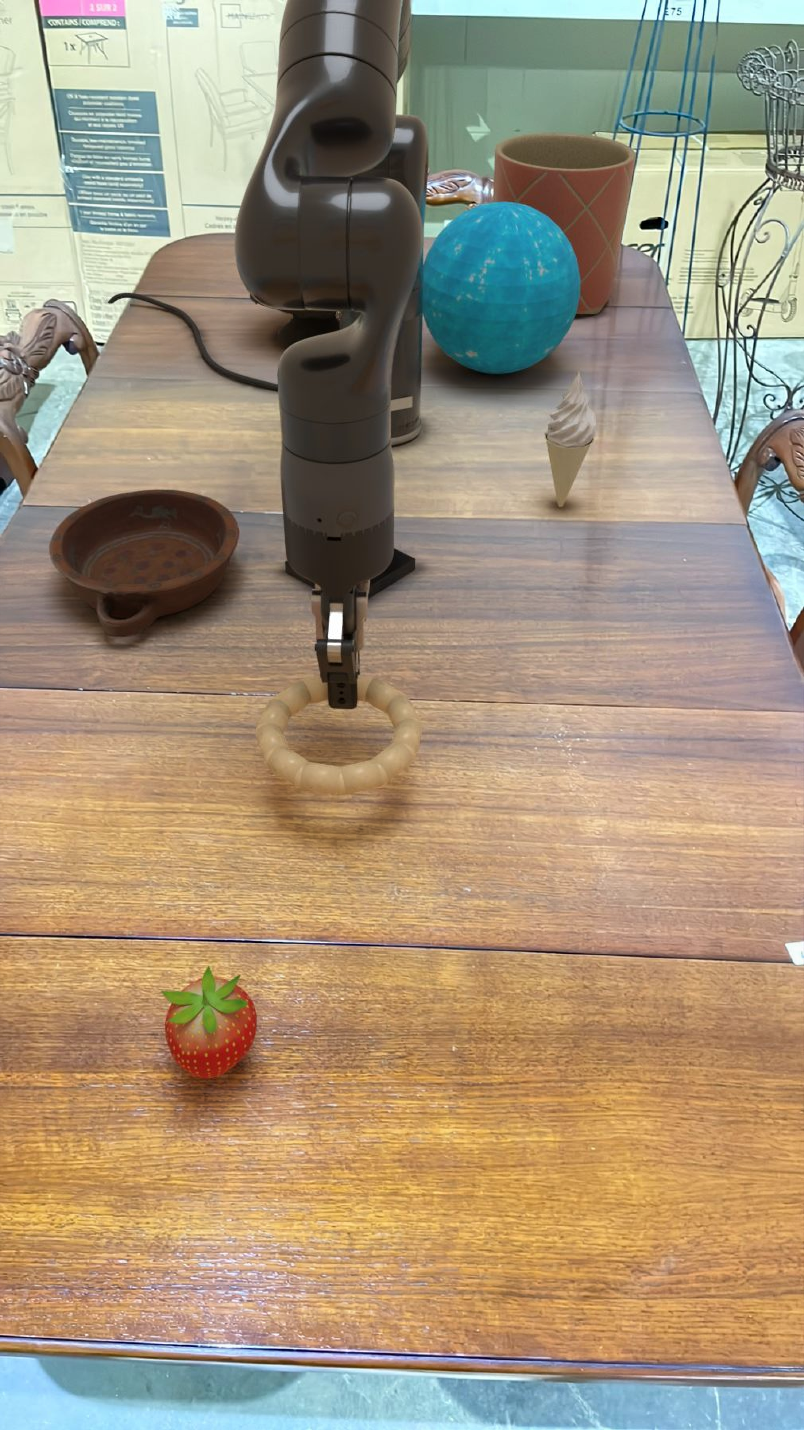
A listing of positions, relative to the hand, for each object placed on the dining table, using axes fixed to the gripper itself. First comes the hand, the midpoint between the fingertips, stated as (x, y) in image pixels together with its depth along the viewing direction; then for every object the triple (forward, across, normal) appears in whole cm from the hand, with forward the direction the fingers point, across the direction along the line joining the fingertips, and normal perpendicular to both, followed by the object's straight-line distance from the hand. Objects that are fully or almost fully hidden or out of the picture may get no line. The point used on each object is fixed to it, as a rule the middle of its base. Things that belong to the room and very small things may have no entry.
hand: (344, 693), depth 84 cm
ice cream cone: (+6, -38, +20) cm, 43 cm away
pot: (+6, -81, -10) cm, 82 cm away
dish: (+5, -22, -20) cm, 30 cm away
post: (+5, -24, -1) cm, 25 cm away
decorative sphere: (+6, -73, +14) cm, 74 cm away
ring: (-1, +5, 0) cm, 5 cm away
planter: (+6, -98, +23) cm, 101 cm away
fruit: (+5, +29, -6) cm, 30 cm away
